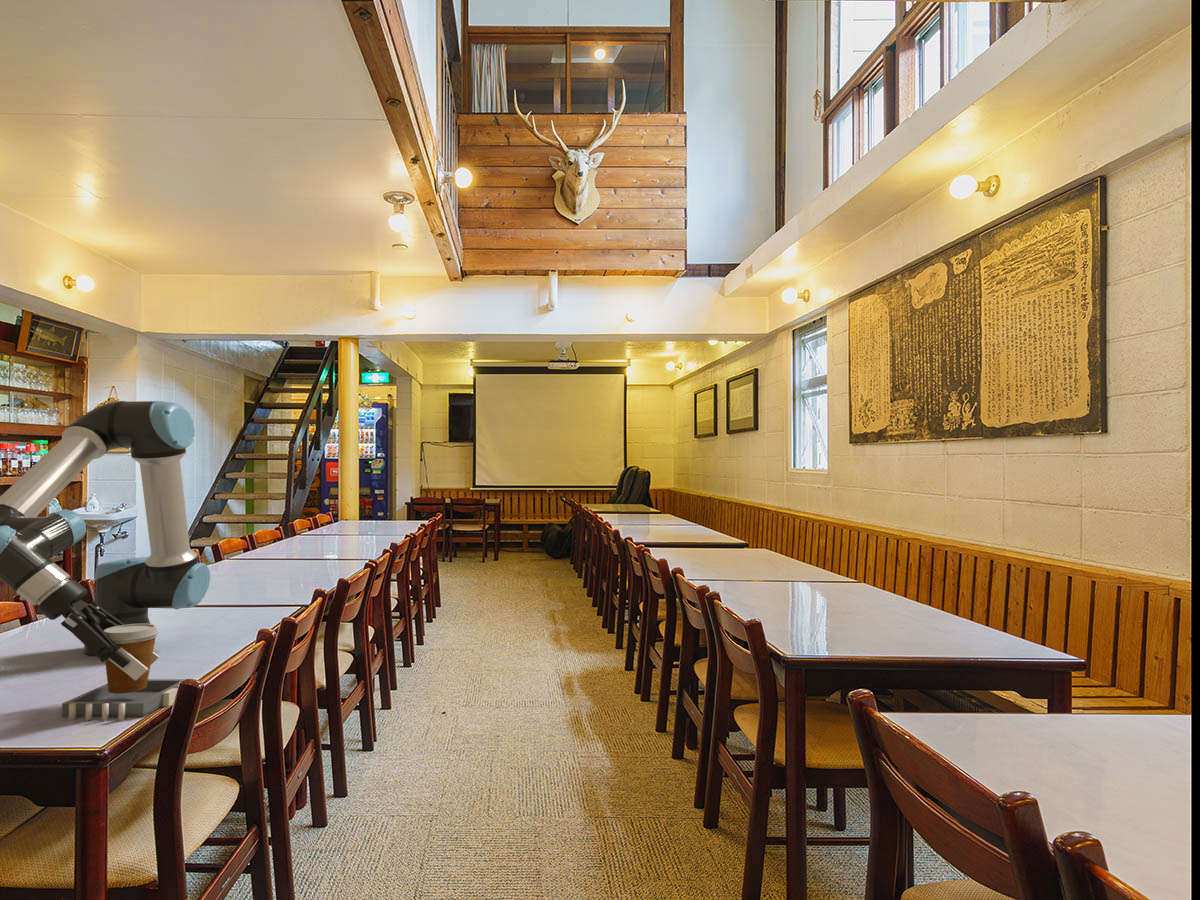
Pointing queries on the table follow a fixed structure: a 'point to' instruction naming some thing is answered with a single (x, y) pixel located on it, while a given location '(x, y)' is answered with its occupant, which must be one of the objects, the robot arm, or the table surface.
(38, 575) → the robot arm
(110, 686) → the disposable coffee cup
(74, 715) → the grey tray
